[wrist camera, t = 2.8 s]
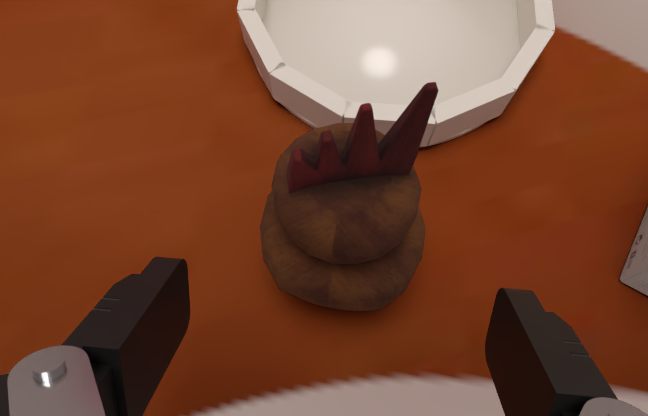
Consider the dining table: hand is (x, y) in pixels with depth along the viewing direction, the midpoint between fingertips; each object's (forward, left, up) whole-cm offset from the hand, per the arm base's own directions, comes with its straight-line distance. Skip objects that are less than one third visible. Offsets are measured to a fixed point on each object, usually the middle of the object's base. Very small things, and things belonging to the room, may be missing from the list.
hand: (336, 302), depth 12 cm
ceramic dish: (+2, +20, -12) cm, 24 cm away
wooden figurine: (0, +4, -12) cm, 13 cm away
